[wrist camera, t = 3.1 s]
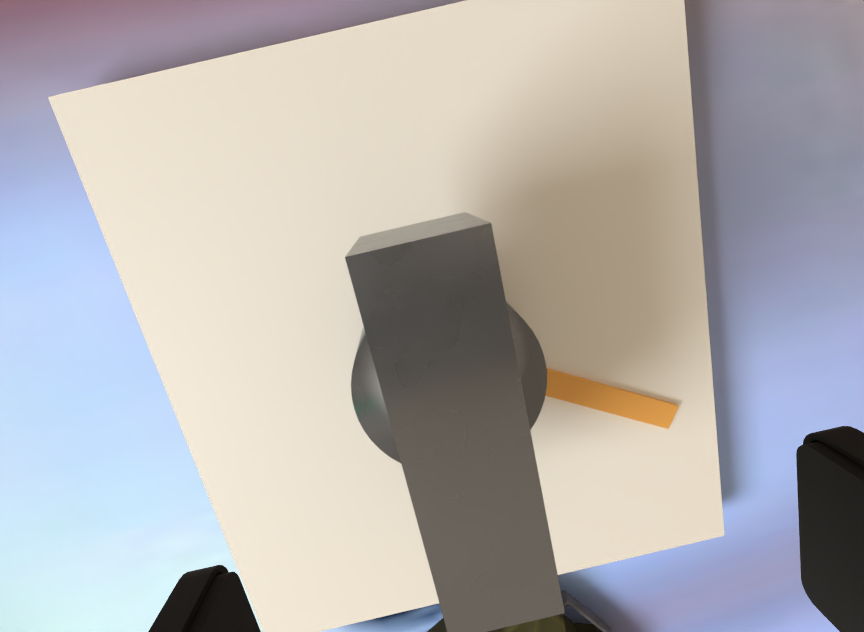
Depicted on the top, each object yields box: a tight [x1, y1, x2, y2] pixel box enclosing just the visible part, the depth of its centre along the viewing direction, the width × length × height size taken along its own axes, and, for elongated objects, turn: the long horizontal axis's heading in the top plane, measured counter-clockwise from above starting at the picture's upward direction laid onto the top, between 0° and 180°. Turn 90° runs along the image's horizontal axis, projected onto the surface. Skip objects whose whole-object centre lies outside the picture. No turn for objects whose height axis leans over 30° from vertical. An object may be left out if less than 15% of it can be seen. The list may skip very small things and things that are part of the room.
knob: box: [345, 212, 565, 632], centre depth 15 cm, size 13×6×7 cm, turn 13°
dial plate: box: [48, 0, 724, 632], centre depth 19 cm, size 22×20×2 cm
